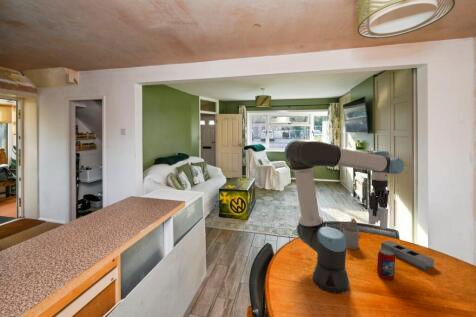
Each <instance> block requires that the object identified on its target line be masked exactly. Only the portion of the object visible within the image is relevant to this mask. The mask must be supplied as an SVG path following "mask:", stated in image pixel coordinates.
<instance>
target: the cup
mask: <svg viewBox="0 0 476 317" xmlns="http://www.w3.org/2000/svg"><path fill="white" fill-rule="evenodd" d="M343 234H344V235H345V237H346V245H347V246H346V249H352V250H354V249H358V248H359V239H360V238H359V237H360V230H359V229H358V228H357V229H356V228H354V227H344V228H343Z"/></svg>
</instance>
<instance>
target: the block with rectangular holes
mask: <svg viewBox="0 0 476 317" xmlns="http://www.w3.org/2000/svg"><path fill="white" fill-rule="evenodd" d="M380 249H388V250H391V251H392V252H393V253H394V255H395V258H398V259H401V260H403V261H404V262H407V263H409V264H411V265H413V266H415V267H417V268H419V269H421V270H423V271H427V270H429V269H432V268H435V267H434V266H435V259H434V258H432V257H429V256H427V255H424V254H422V253H420V252H417V251H415V250H413V249H411V248H408V247H406V246H404V245H401V244H399V243H397V242H396V241H395V242H394V241H392V240H387V241H381V243H380Z"/></svg>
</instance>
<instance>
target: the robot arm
mask: <svg viewBox="0 0 476 317" xmlns="http://www.w3.org/2000/svg"><path fill="white" fill-rule="evenodd" d="M283 153H284V154H283V155H284V158H285V160H286V161H287V162H288V163H289V167H290V170H291V171H292V172H294V178H295V185H296V191H297V192H296V193H297V199H298V204H299V211H300V212H299V213H300V218H299V219H298V223H297V225H296V235H297V236H298V238H299V239H300V240H301V241H302V242H303V243H304V244H306V246H308V247H309V248H311V249H312V250H313V251H314V252H316V254H317V255H316V256H317V258H316V265H315V267H314V270H313V272H312V281H313V283H314V285H315V286H317V287H318V288H319V289H321V290H322V291H325V292H328V293H331V294H343V293H347V291H349V289H350V278H349V277H348V273H347V269H346V261H347V247H346V246H347V245H346V237H345V235H344V234H343V233H342V232H341V231H339V229H337V228H335V227H334V228H333V227H330V226H325V225H324V219H323V218H322V217H321V216H320V212H319V206H318V205H319V204H318V199H317V192H316V185H315V177H314V171H313V170H314V168H315V167H326V168H327V167H328V168H330V167H331V168H335V167H338V166H339V167H345V168H352V169H356V170H358V171H363V170H364V171H371V186H372V190H371V191H368V196H369V198H368V199H369V201H368V202H369V205H370V209H372V210H373V221H374V222H376V224H377V223H379V222H380V217H379V211H378V206H379V207H383V208H386V209H388V204H389V203H388V202H389V195H390V189H389V190H388V189H387V188H388V186H389V180H388V179H389V174H391V175H399V174H401V173H402V172H403V171H404V168H405V162H404V160H403V159H402V158H400V157H395V156H393V157H390V152H389V151H387V150H386V151H385V150H374V151H372V153H370V152H369V153H367V152H363V151H356V150H352V149H345V148H341V147H340V146H338V145H336V144H331V143H327V142H324V141H320V140H316V139H296V140H295V139H294V140H291V141H290V142H289V143H287V145H286V146H285V149H284V152H283Z"/></svg>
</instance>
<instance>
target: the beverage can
mask: <svg viewBox="0 0 476 317" xmlns="http://www.w3.org/2000/svg"><path fill="white" fill-rule="evenodd" d="M376 263H377V264H376V266H377V267H376V268H377V269H376V274H377V275H378V276H379V277H381V279H382V278H383V279H385V280H393V279H395V273H396V272H395V271H396V256H395V255H394V253H393V252H392V251H391V250H388V249H381V248H380V249H379V251H378V252H377V262H376Z"/></svg>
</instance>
